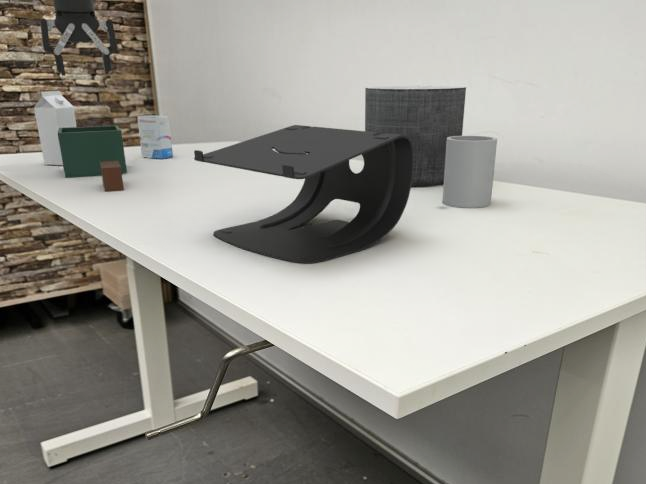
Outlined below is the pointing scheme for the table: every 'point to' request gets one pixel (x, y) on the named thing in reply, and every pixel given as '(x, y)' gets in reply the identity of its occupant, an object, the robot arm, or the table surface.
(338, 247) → the laptop stand
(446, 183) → the cup
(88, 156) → the bin
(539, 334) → the table surface
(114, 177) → the brown rectangular block
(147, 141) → the ink box
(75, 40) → the robot arm
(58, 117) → the milk carton
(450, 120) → the planter
